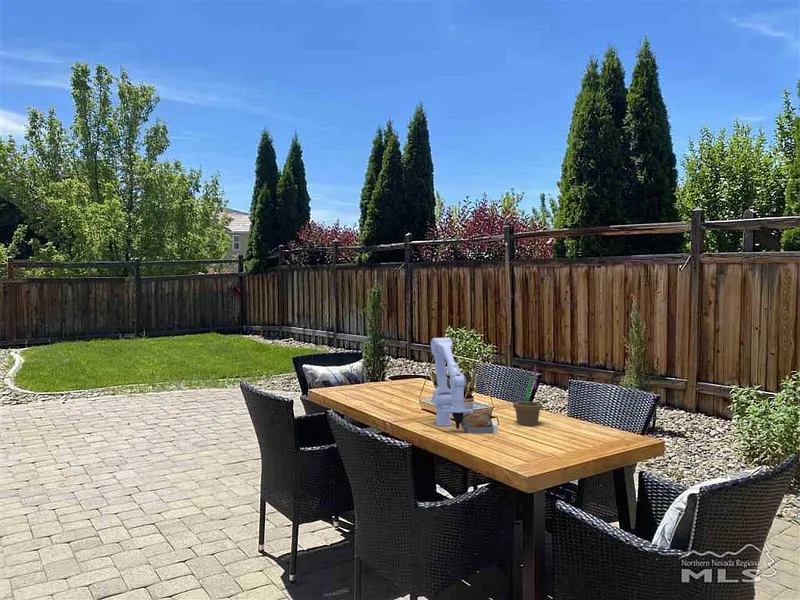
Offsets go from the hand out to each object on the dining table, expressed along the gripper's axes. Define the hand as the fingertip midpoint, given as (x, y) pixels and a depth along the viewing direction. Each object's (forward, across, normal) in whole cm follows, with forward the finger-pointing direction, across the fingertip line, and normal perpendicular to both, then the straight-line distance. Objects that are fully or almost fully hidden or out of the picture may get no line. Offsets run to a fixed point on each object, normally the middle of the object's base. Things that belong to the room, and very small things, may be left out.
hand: (457, 428), depth 284 cm
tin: (+2, +9, 0) cm, 9 cm away
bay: (+2, +10, 0) cm, 10 cm away
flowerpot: (+2, +38, +15) cm, 41 cm away
